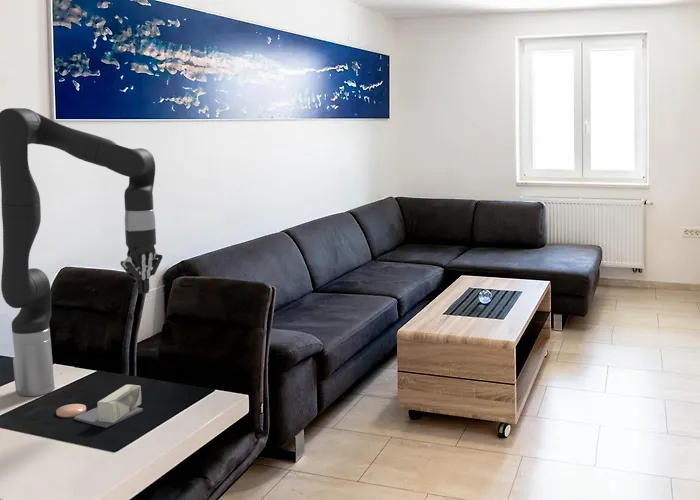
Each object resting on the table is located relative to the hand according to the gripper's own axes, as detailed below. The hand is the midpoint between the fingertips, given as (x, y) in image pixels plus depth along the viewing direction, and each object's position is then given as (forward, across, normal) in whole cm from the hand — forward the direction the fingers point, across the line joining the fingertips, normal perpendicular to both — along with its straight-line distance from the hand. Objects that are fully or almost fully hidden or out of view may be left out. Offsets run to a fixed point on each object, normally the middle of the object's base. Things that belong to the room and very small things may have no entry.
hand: (143, 293), depth 194 cm
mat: (+28, +16, +2) cm, 32 cm away
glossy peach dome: (+28, +18, -8) cm, 34 cm away
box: (+24, +8, +3) cm, 26 cm away
